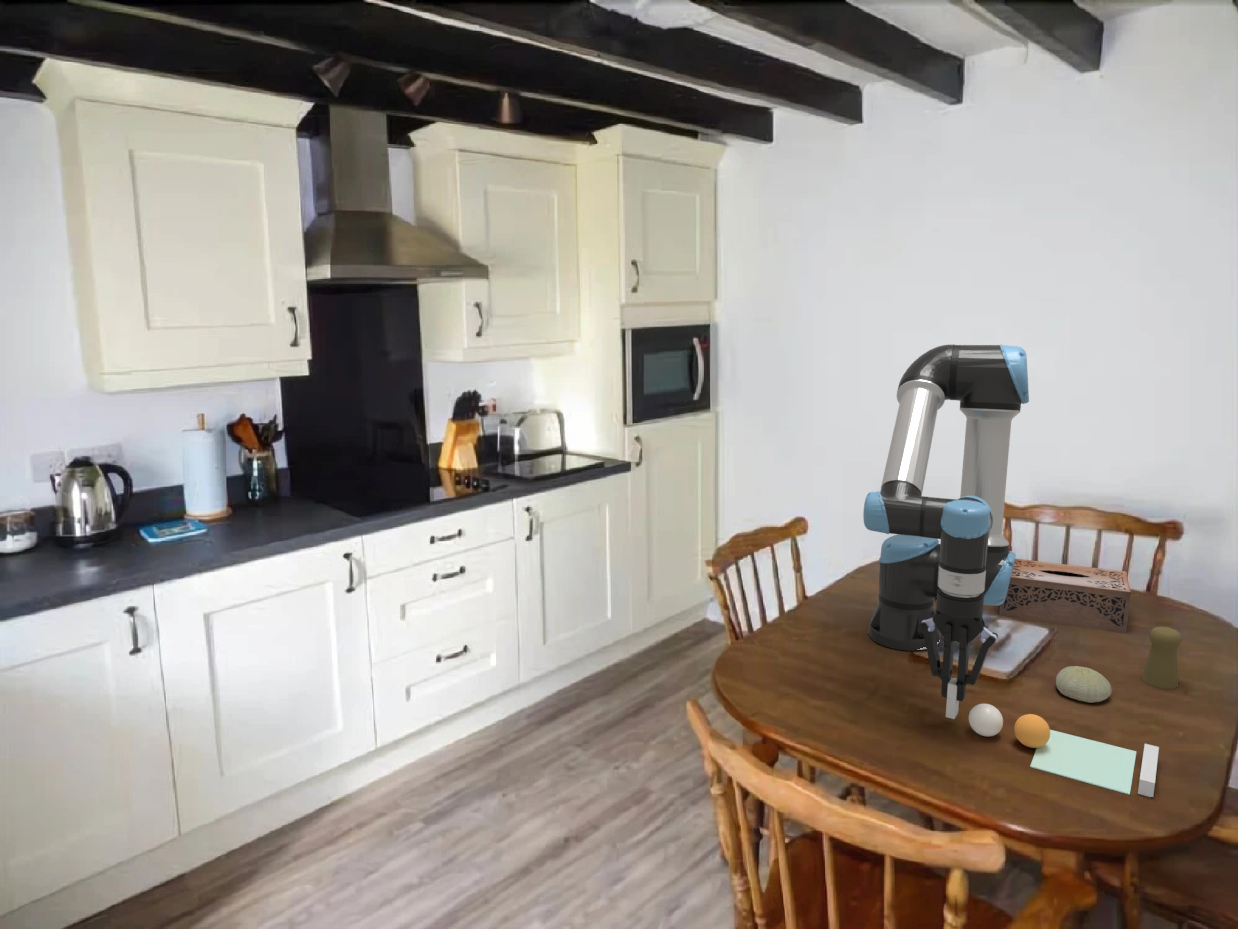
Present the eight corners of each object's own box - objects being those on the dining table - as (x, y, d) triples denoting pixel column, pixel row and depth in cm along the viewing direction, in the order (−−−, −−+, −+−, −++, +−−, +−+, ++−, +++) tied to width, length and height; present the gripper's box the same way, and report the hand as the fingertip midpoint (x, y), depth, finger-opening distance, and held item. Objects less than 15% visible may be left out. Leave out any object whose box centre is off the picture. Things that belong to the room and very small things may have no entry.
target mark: (1030, 767, 137) (1030, 766, 137) (1043, 729, 148) (1044, 728, 148) (1129, 795, 129) (1129, 793, 129) (1136, 752, 140) (1136, 751, 140)
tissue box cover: (999, 616, 198) (1002, 575, 196) (1002, 595, 210) (1005, 557, 208) (1125, 634, 186) (1130, 592, 184) (1121, 611, 199) (1126, 571, 197)
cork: (1178, 692, 160) (1185, 638, 158) (1141, 684, 163) (1147, 631, 161) (1177, 679, 165) (1184, 626, 163) (1141, 672, 168) (1148, 620, 166)
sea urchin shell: (1095, 703, 153) (1069, 662, 157) (1064, 717, 159) (1040, 678, 163) (1126, 691, 157) (1100, 651, 161) (1094, 705, 163) (1070, 667, 167)
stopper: (1137, 793, 129) (1139, 779, 129) (1143, 757, 139) (1144, 743, 139) (1153, 798, 128) (1154, 783, 128) (1157, 760, 138) (1159, 747, 137)
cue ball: (993, 710, 143) (1002, 741, 143) (1001, 698, 147) (1010, 728, 147) (961, 711, 146) (969, 741, 146) (970, 699, 150) (978, 729, 150)
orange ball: (1004, 733, 143) (1029, 716, 140) (1010, 719, 147) (1034, 702, 144) (1029, 759, 141) (1055, 743, 138) (1034, 744, 145) (1060, 728, 143)
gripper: (915, 590, 146) (908, 714, 151) (996, 605, 138) (986, 734, 143) (927, 577, 152) (920, 696, 157) (1005, 590, 144) (995, 715, 149)
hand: (951, 714), depth 150 cm, fingers closed
